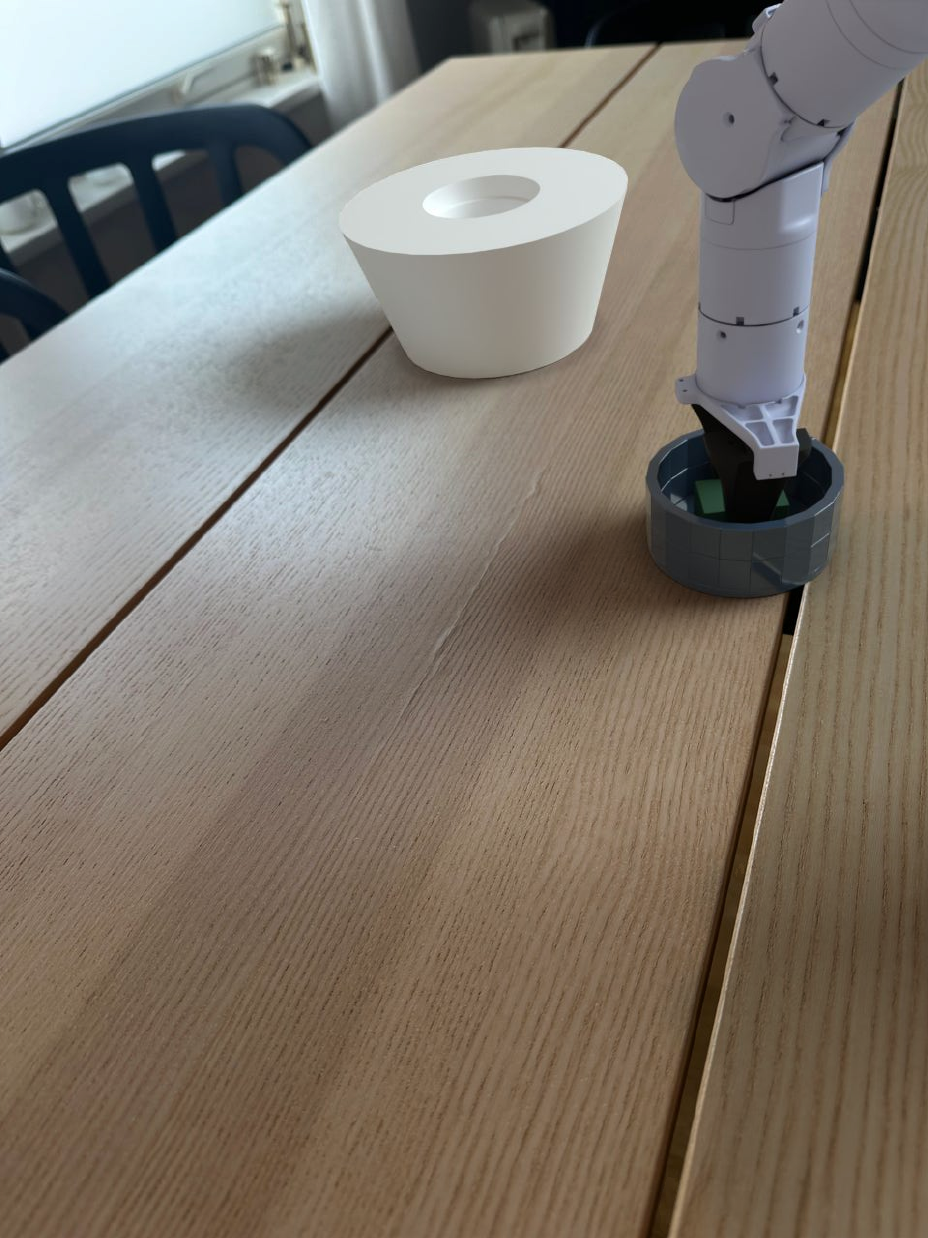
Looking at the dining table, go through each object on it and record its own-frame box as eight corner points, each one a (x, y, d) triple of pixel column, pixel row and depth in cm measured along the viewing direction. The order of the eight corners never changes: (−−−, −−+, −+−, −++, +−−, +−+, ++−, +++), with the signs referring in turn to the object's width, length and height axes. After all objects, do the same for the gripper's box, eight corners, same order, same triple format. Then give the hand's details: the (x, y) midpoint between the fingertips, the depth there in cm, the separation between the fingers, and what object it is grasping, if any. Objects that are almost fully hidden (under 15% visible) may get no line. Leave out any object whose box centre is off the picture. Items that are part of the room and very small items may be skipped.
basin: (834, 490, 64) (843, 424, 61) (835, 604, 56) (846, 534, 53) (658, 484, 68) (657, 421, 64) (636, 591, 60) (634, 525, 56)
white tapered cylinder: (568, 255, 99) (559, 129, 92) (681, 348, 82) (682, 200, 74) (341, 317, 96) (312, 191, 88) (407, 428, 78) (378, 282, 70)
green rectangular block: (773, 511, 63) (776, 472, 61) (785, 544, 60) (789, 504, 58) (693, 519, 63) (694, 480, 61) (702, 553, 61) (703, 513, 59)
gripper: (657, 259, 58) (658, 456, 66) (700, 376, 47) (695, 593, 56) (779, 242, 57) (764, 444, 66) (852, 358, 46) (822, 581, 55)
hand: (740, 512), depth 61 cm, fingers closed on green rectangular block, 3 cm apart
